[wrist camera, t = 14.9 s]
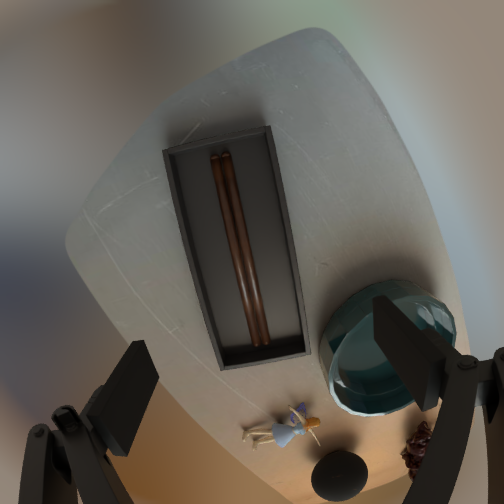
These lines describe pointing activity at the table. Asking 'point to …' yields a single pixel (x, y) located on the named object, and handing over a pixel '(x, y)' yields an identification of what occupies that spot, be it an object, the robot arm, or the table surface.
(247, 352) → the tray
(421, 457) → the figurine
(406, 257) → the table surface
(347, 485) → the speaker
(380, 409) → the bowl
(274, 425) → the fairy figurine
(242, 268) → the chopsticks
